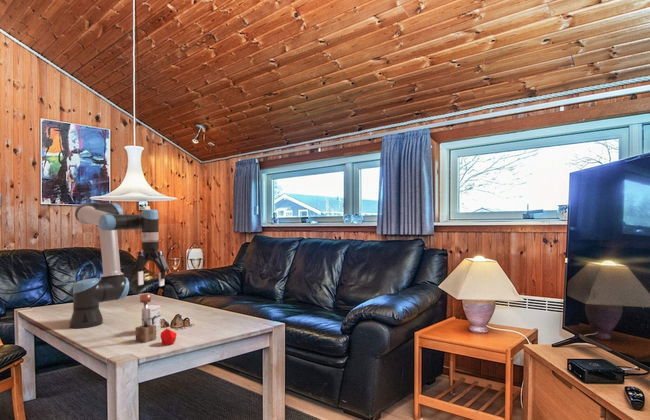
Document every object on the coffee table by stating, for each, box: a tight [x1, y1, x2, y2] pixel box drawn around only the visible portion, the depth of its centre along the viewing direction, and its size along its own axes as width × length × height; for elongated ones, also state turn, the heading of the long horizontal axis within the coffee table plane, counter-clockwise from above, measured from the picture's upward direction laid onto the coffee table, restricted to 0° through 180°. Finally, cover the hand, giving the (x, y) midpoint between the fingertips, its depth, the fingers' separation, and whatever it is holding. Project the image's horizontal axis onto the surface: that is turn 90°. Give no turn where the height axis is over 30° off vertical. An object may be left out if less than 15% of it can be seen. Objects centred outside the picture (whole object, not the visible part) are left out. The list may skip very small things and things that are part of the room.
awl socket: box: [134, 325, 157, 343], centre depth 184 cm, size 6×6×6 cm
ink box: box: [141, 304, 162, 332], centre depth 200 cm, size 8×5×12 cm, turn 168°
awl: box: [139, 293, 152, 327], centre depth 185 cm, size 4×4×15 cm
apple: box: [160, 328, 178, 346], centre depth 179 cm, size 7×7×8 cm
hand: (151, 285), depth 200 cm, fingers open, 13 cm apart
